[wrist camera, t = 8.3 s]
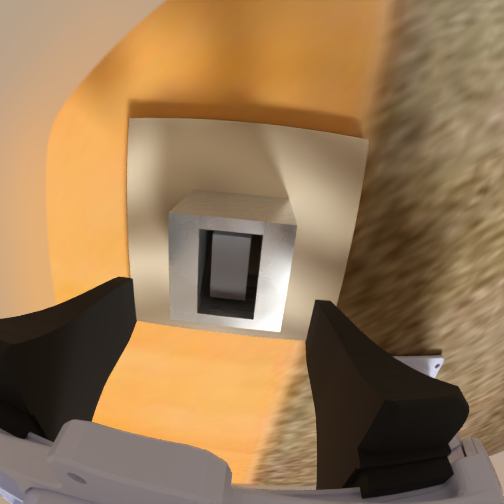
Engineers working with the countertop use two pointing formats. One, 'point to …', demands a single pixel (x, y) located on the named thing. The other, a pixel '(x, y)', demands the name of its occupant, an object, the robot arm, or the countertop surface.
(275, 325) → the hollow square tube
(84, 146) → the countertop surface
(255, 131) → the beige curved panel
